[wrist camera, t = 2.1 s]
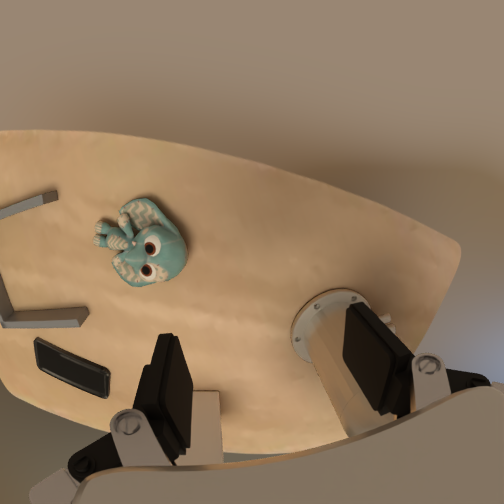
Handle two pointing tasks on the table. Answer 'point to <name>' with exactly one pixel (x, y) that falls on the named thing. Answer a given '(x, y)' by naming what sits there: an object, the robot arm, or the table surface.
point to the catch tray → (52, 318)
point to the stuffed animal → (143, 244)
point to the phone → (72, 369)
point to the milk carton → (204, 431)
